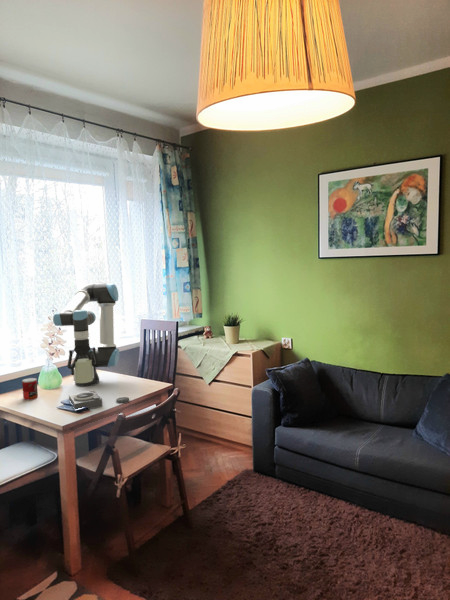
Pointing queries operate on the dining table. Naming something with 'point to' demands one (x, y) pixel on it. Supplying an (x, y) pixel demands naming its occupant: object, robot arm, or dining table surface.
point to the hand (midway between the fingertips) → (83, 379)
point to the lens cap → (123, 400)
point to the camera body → (86, 400)
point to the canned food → (30, 388)
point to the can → (83, 371)
